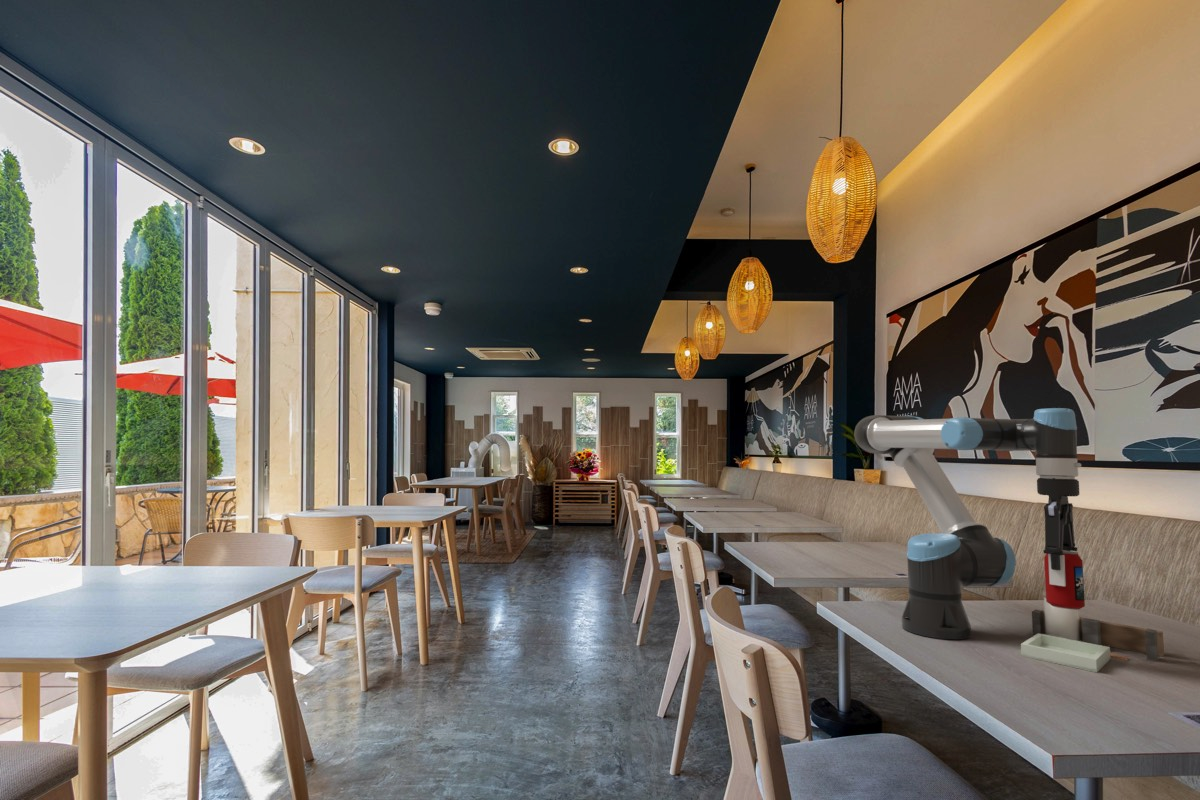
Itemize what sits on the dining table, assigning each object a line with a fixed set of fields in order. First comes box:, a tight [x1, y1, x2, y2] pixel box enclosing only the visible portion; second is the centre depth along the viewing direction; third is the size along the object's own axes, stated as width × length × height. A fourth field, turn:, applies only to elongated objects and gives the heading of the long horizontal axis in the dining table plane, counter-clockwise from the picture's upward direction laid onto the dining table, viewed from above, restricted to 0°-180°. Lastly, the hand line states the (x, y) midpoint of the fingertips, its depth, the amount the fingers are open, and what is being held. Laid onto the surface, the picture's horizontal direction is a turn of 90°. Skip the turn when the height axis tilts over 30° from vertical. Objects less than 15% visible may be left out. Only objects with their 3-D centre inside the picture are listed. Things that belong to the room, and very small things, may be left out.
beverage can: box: [1043, 551, 1086, 611], centre depth 134 cm, size 7×7×12 cm
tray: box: [1020, 633, 1112, 673], centre depth 133 cm, size 13×13×2 cm
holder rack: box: [1031, 609, 1165, 662], centre depth 140 cm, size 23×12×6 cm, turn 41°
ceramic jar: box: [1042, 590, 1082, 642], centre depth 145 cm, size 7×7×11 cm
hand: (1062, 582), depth 134 cm, fingers closed on beverage can, 7 cm apart
